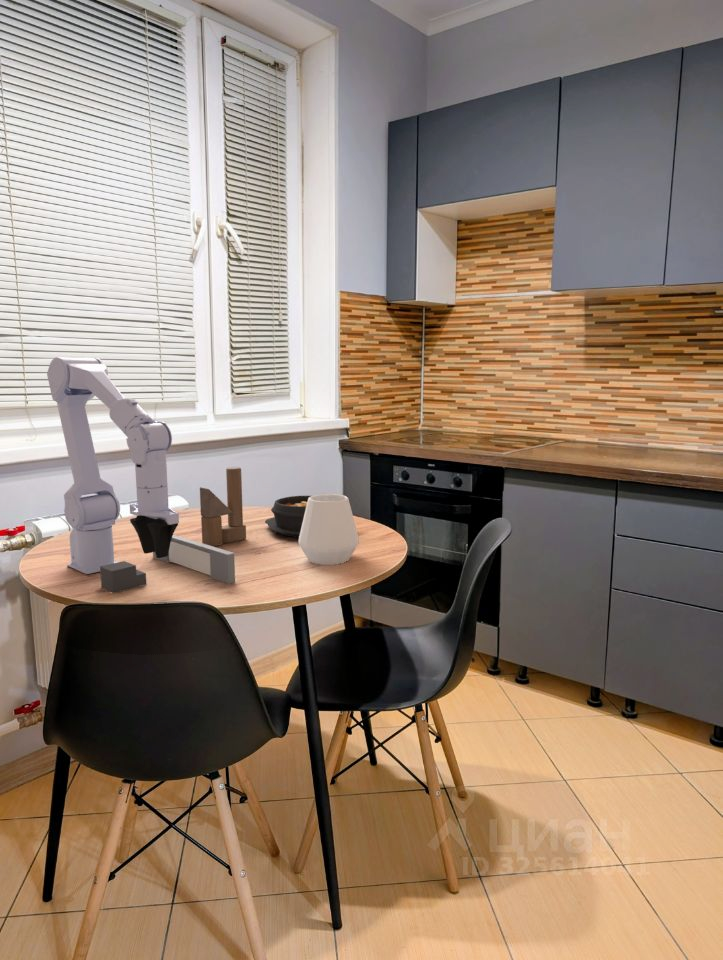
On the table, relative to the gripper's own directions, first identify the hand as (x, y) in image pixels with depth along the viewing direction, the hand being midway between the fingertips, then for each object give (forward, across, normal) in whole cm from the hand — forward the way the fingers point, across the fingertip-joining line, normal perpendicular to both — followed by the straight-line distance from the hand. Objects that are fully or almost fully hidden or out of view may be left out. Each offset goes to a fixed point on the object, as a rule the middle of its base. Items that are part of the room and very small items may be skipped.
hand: (155, 554), depth 131 cm
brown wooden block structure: (+6, -17, +28) cm, 34 cm away
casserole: (+6, -10, +48) cm, 50 cm away
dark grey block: (+6, -4, -5) cm, 9 cm away
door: (+6, -4, +10) cm, 13 cm away
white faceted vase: (+6, +12, +36) cm, 38 cm away
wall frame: (+6, -4, +10) cm, 13 cm away
